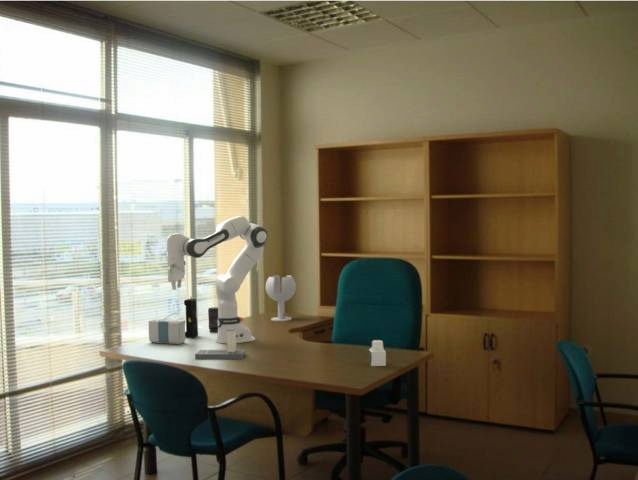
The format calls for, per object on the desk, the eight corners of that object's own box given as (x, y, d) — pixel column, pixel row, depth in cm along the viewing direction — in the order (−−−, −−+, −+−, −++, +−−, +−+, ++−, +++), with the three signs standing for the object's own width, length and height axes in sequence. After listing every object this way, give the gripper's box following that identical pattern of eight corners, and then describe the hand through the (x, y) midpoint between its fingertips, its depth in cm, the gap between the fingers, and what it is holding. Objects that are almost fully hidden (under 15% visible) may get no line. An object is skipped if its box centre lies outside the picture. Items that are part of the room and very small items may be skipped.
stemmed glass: (263, 321, 462) (262, 277, 461) (270, 317, 482) (269, 274, 481) (292, 322, 459) (291, 277, 457) (298, 317, 479) (297, 274, 477)
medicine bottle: (368, 363, 333) (368, 338, 333) (383, 362, 334) (383, 338, 333) (371, 366, 326) (370, 341, 326) (386, 365, 327) (385, 341, 326)
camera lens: (223, 330, 430) (223, 307, 430) (217, 332, 423) (217, 308, 422) (212, 330, 433) (211, 306, 432) (206, 332, 425) (205, 308, 425)
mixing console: (195, 359, 349) (195, 354, 349) (200, 354, 360) (200, 349, 360) (241, 359, 347) (241, 353, 347) (245, 354, 358) (245, 349, 358)
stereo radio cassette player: (148, 343, 394) (147, 308, 393) (156, 340, 401) (155, 306, 400) (179, 345, 386) (178, 310, 385) (187, 342, 394) (186, 308, 393)
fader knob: (227, 352, 351) (226, 329, 350) (229, 350, 356) (228, 328, 355) (234, 352, 350) (234, 329, 350) (236, 350, 355) (235, 328, 355)
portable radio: (193, 338, 407) (192, 296, 405) (184, 337, 408) (183, 296, 407) (198, 335, 414) (197, 294, 413) (189, 335, 415) (188, 294, 414)
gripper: (176, 264, 359) (177, 290, 360) (186, 261, 380) (187, 286, 380) (164, 265, 360) (165, 291, 360) (175, 261, 380) (176, 286, 381)
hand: (176, 288), depth 370 cm, fingers open, 8 cm apart
